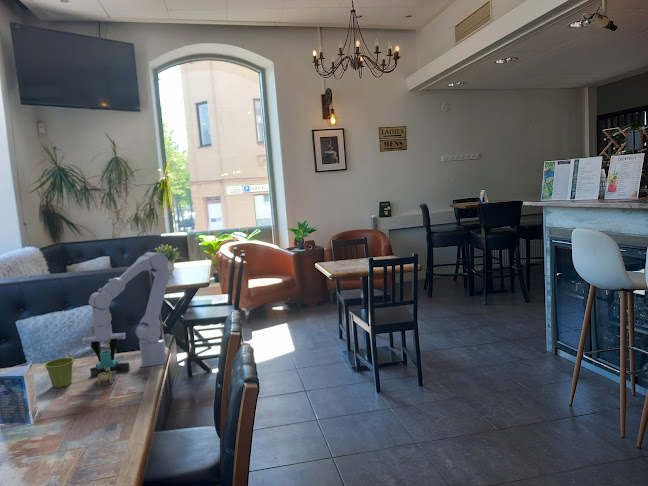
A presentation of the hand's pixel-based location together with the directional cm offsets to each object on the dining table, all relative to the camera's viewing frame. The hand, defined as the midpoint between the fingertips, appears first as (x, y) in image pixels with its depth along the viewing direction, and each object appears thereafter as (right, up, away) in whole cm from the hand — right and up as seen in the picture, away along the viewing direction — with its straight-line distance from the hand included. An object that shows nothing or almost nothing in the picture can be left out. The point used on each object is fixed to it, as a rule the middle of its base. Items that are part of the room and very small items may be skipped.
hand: (106, 360), depth 182 cm
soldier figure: (-24, -7, +17) cm, 30 cm away
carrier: (+1, -6, -1) cm, 7 cm away
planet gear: (0, -2, 0) cm, 2 cm away
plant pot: (-14, -8, -5) cm, 17 cm away
